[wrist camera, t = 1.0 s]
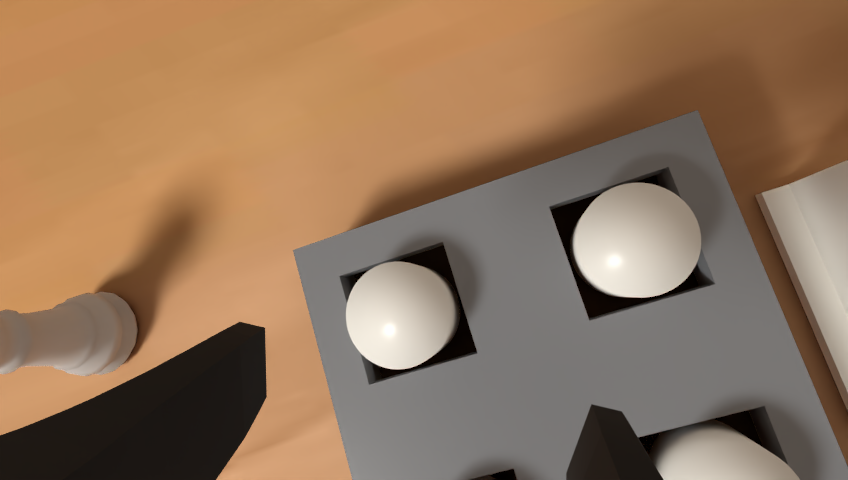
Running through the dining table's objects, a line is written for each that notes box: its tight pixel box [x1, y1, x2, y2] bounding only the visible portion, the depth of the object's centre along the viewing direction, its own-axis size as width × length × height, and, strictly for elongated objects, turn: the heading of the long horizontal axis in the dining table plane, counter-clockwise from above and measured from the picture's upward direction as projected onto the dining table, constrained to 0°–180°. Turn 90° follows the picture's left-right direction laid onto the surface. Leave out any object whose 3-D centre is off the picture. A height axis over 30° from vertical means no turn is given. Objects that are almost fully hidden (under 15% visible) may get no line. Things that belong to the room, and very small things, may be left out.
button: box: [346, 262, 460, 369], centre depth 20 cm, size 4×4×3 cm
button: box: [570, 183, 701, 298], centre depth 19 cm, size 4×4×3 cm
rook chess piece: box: [0, 292, 138, 376], centre depth 23 cm, size 4×4×8 cm
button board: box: [293, 110, 848, 480], centre depth 20 cm, size 17×17×4 cm
